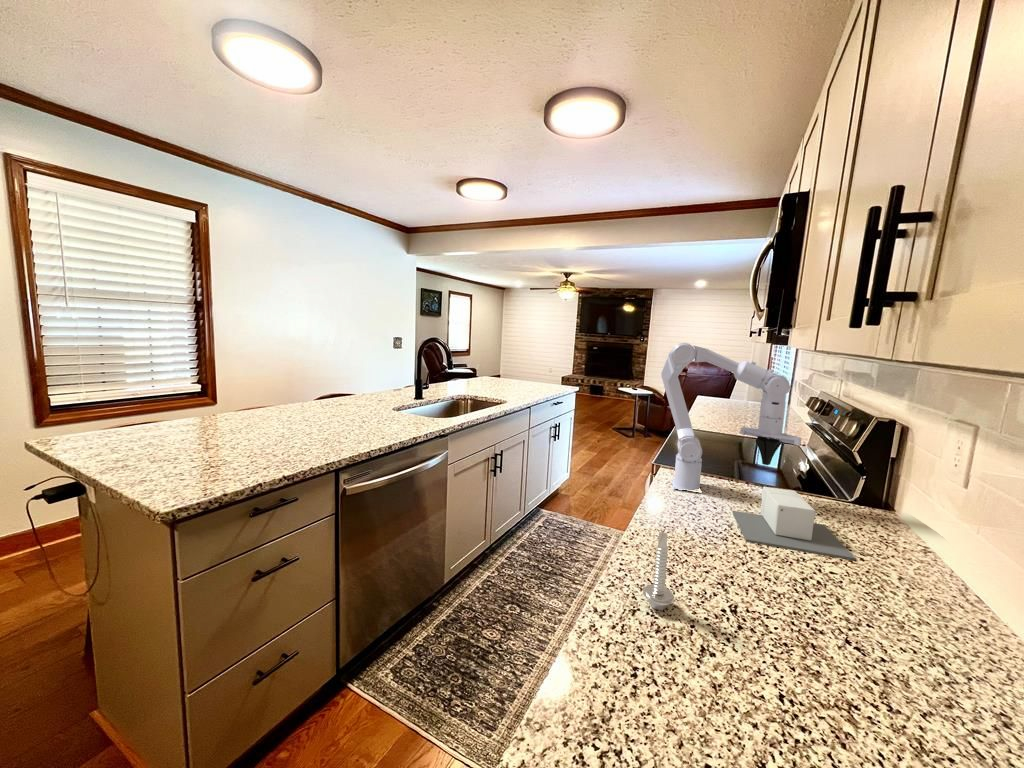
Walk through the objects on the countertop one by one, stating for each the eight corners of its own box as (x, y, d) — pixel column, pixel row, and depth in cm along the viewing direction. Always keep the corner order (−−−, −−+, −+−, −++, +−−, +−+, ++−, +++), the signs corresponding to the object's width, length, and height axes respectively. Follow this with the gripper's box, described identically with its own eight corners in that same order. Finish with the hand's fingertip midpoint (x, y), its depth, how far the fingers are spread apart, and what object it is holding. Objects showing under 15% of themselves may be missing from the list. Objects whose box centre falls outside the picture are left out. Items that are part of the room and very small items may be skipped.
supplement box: (759, 513, 102) (773, 535, 90) (762, 485, 101) (777, 504, 89) (792, 518, 100) (811, 542, 88) (796, 490, 99) (816, 510, 87)
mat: (732, 512, 103) (732, 510, 103) (823, 526, 97) (824, 524, 96) (745, 541, 88) (746, 539, 88) (855, 560, 82) (855, 558, 82)
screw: (673, 618, 63) (641, 610, 64) (672, 600, 67) (642, 593, 69) (680, 541, 61) (647, 535, 63) (678, 528, 66) (647, 522, 67)
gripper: (737, 413, 113) (733, 459, 115) (797, 423, 102) (791, 474, 103) (747, 411, 117) (743, 455, 119) (806, 420, 106) (800, 469, 108)
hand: (766, 464), depth 111 cm, fingers closed
